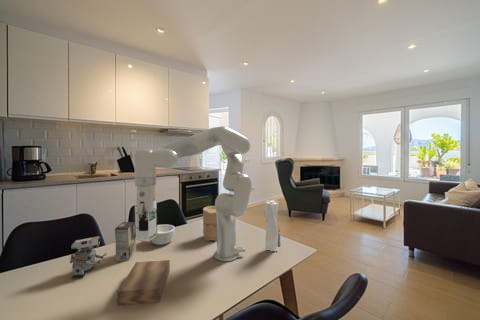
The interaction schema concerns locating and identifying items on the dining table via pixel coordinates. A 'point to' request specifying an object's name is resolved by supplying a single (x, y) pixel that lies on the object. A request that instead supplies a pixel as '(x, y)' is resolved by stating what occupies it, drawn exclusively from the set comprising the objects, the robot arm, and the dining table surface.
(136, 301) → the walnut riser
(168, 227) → the paper bowls
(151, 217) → the syrup box
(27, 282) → the dining table surface
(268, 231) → the skyscraper
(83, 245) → the figurine
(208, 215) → the container
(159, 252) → the dining table surface
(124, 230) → the coffee box
